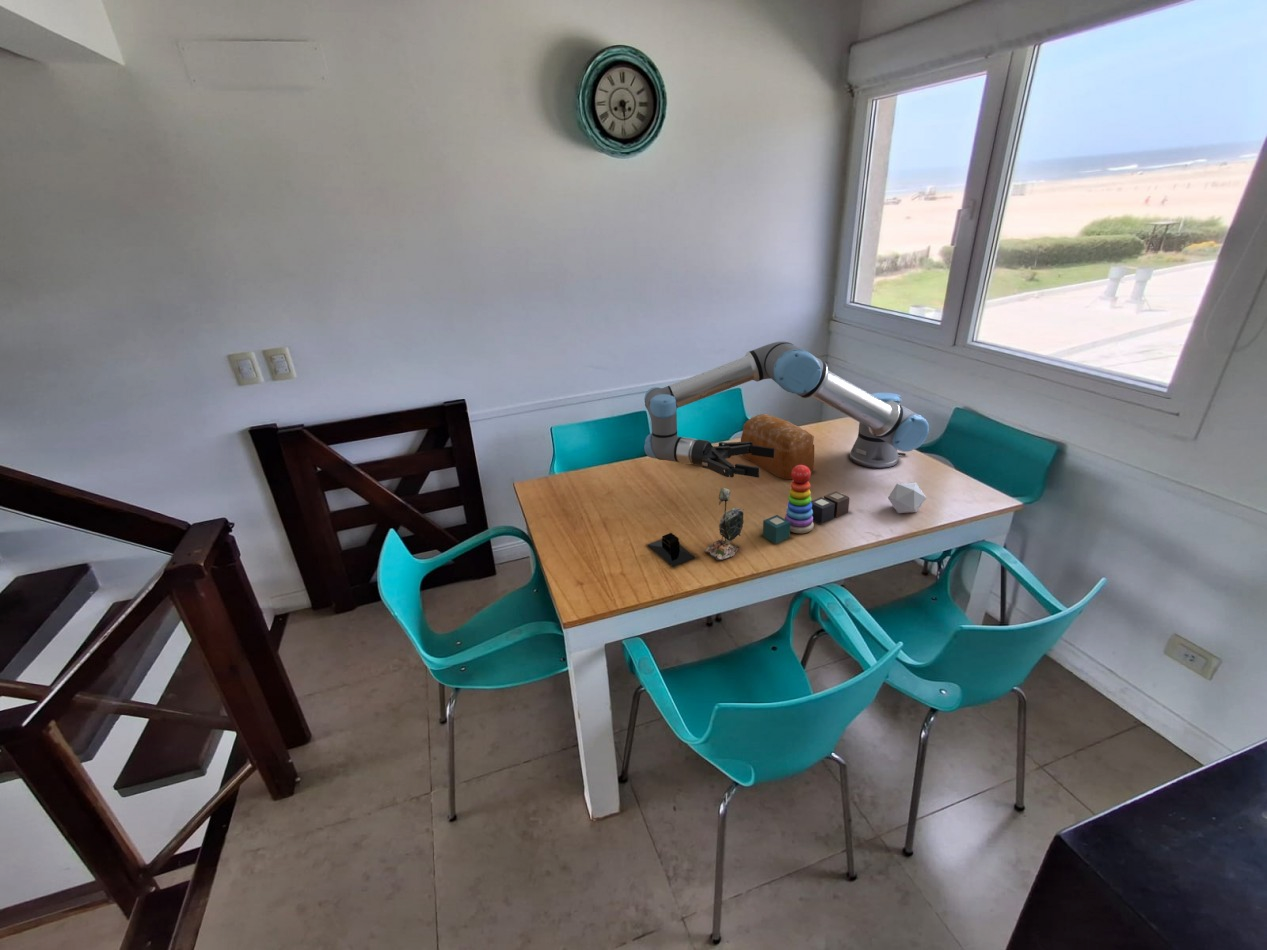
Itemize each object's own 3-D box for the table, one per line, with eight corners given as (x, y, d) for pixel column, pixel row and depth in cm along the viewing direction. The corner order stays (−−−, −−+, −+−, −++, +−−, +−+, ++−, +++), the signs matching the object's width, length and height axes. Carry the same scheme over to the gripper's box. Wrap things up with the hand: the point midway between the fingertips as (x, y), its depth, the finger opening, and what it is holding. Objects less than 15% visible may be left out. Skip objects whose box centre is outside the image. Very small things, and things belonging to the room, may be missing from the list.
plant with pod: (752, 551, 146) (754, 483, 137) (715, 564, 142) (715, 494, 133) (734, 537, 152) (735, 471, 144) (699, 549, 148) (697, 482, 140)
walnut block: (834, 505, 164) (836, 490, 162) (848, 512, 160) (850, 496, 158) (822, 510, 162) (823, 495, 160) (836, 517, 158) (837, 501, 156)
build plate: (647, 546, 152) (646, 531, 150) (670, 537, 155) (669, 523, 153) (673, 567, 142) (672, 551, 140) (696, 557, 145) (695, 542, 143)
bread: (784, 482, 180) (786, 437, 173) (736, 455, 201) (737, 414, 195) (817, 472, 185) (821, 428, 178) (767, 447, 207) (769, 406, 200)
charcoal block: (820, 511, 162) (821, 496, 159) (833, 518, 158) (835, 503, 155) (807, 517, 159) (808, 501, 157) (821, 524, 156) (822, 508, 153)
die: (919, 523, 154) (937, 491, 153) (891, 508, 154) (909, 476, 153) (904, 518, 162) (921, 488, 162) (877, 504, 162) (894, 473, 161)
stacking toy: (815, 522, 156) (820, 462, 148) (810, 537, 150) (815, 474, 142) (787, 518, 160) (790, 458, 152) (781, 531, 153) (784, 470, 145)
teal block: (776, 530, 154) (777, 514, 152) (789, 538, 150) (790, 521, 148) (762, 536, 152) (763, 519, 150) (775, 544, 148) (776, 527, 146)
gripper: (711, 447, 173) (779, 457, 163) (677, 481, 154) (751, 494, 144) (711, 425, 170) (780, 433, 160) (676, 456, 150) (752, 468, 140)
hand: (767, 462), depth 152 cm, fingers open, 13 cm apart
